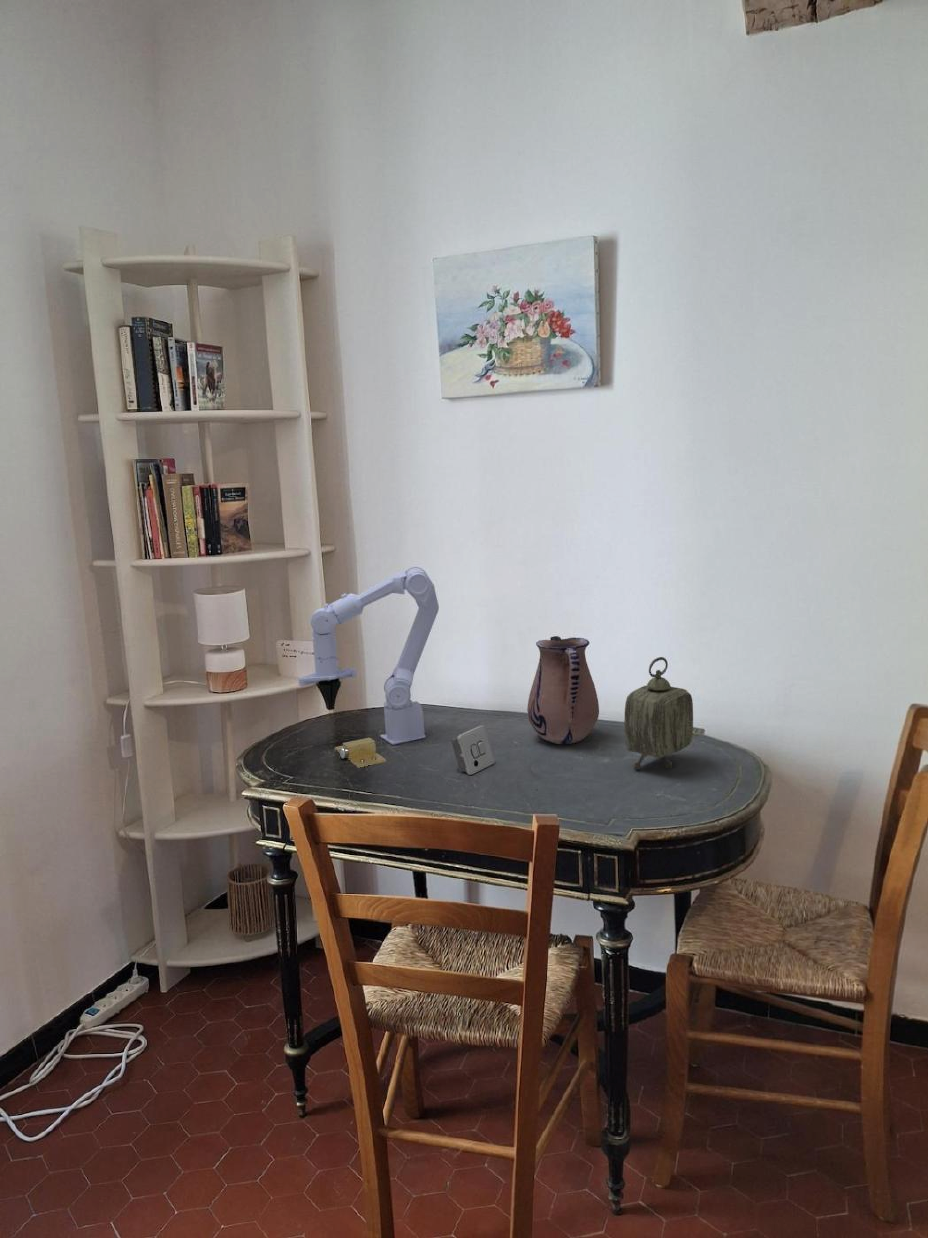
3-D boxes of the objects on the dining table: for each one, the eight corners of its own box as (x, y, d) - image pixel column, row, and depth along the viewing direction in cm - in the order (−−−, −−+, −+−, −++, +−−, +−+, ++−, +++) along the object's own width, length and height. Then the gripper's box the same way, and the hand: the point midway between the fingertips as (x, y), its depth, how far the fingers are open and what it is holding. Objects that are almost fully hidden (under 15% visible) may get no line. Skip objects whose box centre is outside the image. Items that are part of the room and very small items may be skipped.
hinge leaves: (361, 744, 232) (360, 731, 231) (386, 761, 218) (385, 748, 217) (335, 749, 229) (333, 736, 228) (358, 768, 215) (357, 754, 214)
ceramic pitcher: (580, 724, 238) (577, 630, 234) (619, 748, 219) (616, 646, 214) (518, 734, 233) (514, 638, 228) (551, 759, 213) (547, 655, 209)
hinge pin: (373, 749, 226) (372, 739, 226) (377, 752, 224) (376, 742, 223) (339, 756, 222) (339, 746, 222) (343, 759, 220) (342, 749, 219)
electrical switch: (470, 776, 206) (465, 736, 204) (453, 774, 209) (447, 735, 208) (495, 764, 213) (490, 725, 212) (478, 762, 216) (473, 724, 215)
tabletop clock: (661, 753, 214) (660, 649, 209) (696, 761, 207) (695, 654, 202) (625, 771, 204) (623, 662, 199) (659, 780, 197) (658, 667, 193)
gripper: (303, 664, 221) (307, 718, 224) (358, 654, 228) (363, 707, 231) (294, 658, 228) (298, 711, 230) (348, 650, 234) (352, 701, 237)
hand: (330, 709), depth 231 cm, fingers closed
